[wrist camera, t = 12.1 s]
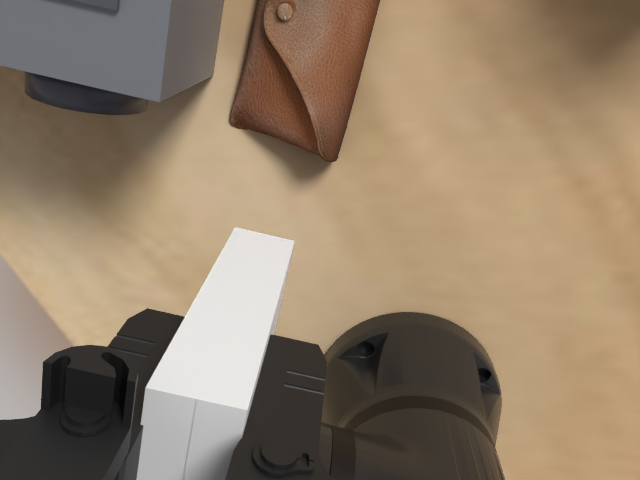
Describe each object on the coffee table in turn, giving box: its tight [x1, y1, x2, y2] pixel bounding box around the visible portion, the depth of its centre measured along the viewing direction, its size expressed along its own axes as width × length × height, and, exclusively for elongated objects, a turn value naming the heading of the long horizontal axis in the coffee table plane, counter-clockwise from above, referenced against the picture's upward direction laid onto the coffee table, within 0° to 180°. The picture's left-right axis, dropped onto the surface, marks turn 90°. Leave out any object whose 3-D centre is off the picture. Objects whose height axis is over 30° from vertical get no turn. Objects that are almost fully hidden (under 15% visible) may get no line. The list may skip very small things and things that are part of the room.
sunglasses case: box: [230, 0, 380, 162], centre depth 39 cm, size 18×7×7 cm
